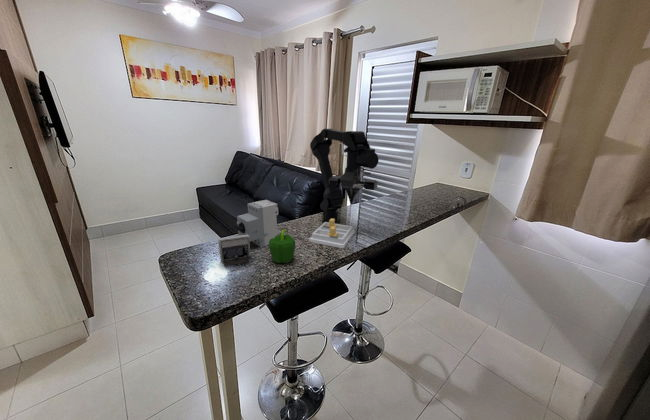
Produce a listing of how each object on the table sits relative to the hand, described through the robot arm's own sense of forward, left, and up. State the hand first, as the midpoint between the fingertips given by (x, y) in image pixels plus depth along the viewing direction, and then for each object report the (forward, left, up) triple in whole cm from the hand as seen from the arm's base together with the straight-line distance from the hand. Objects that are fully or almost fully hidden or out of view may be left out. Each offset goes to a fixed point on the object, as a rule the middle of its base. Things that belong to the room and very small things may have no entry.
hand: (351, 203), depth 103 cm
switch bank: (-5, -8, -13) cm, 16 cm away
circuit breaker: (-29, -25, -13) cm, 40 cm away
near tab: (-4, -12, -11) cm, 17 cm away
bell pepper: (-14, -32, -13) cm, 37 cm away
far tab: (-7, -4, -11) cm, 14 cm away
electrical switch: (-27, -39, -13) cm, 49 cm away
